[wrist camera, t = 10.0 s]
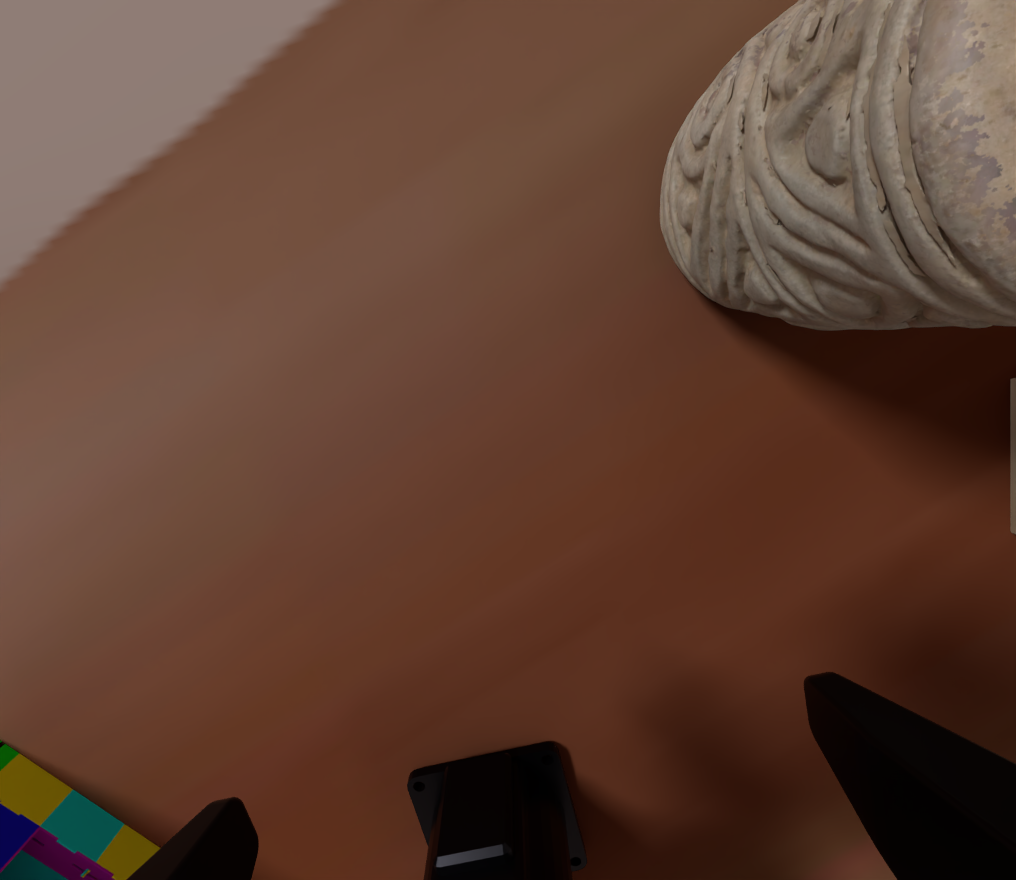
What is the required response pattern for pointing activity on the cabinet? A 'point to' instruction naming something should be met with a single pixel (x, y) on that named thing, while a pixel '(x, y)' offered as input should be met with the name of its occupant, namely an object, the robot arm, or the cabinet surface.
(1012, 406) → the birch brick
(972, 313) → the carving
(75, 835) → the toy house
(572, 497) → the cabinet surface
